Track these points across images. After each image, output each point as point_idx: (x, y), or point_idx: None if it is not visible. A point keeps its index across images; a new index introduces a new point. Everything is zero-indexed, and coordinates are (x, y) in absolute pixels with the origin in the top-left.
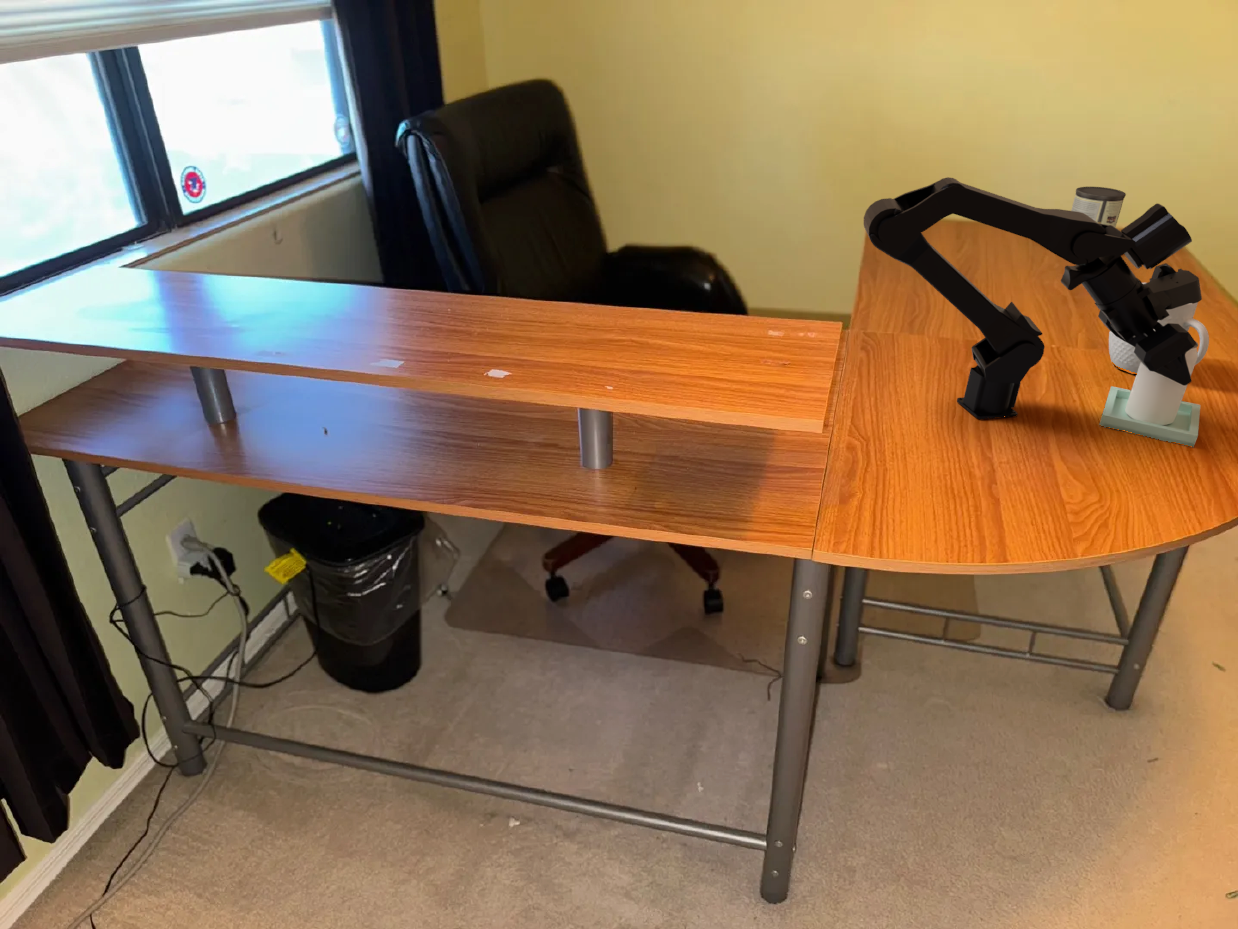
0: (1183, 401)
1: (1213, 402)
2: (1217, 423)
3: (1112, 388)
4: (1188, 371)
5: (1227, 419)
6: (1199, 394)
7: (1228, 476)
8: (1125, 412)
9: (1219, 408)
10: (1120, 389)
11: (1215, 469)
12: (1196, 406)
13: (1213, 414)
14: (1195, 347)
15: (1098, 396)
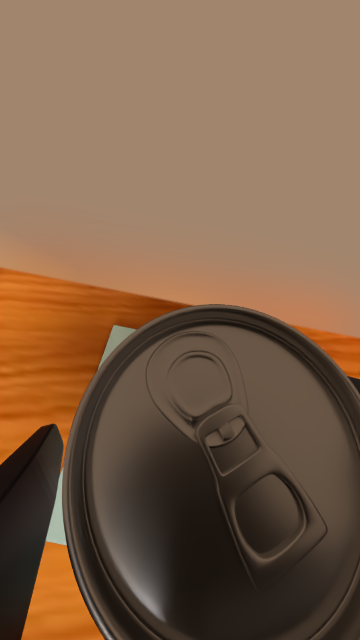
0: (104, 352)
1: (45, 296)
2: (139, 308)
3: (56, 535)
4: (358, 380)
5: (117, 291)
6: (8, 310)
7: (331, 332)
8: None
9: (71, 292)
10: (60, 507)
11: (320, 344)
12: (124, 333)
13: (101, 306)
14: (295, 329)
15: (54, 556)
